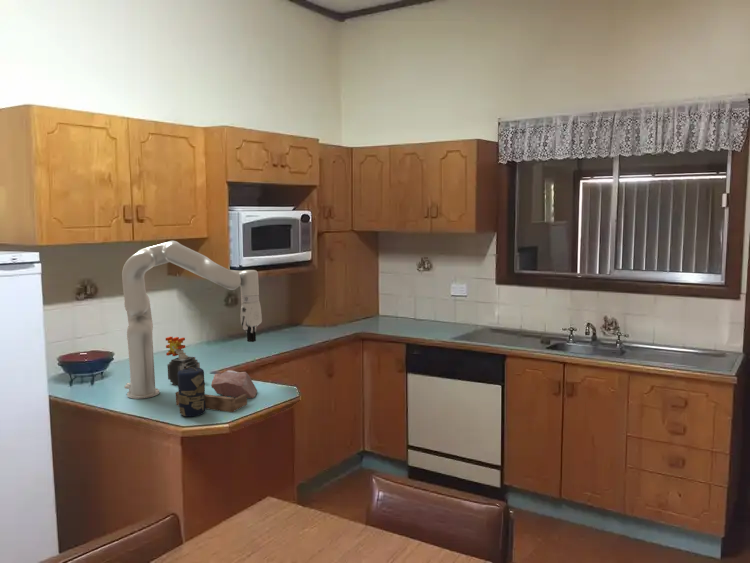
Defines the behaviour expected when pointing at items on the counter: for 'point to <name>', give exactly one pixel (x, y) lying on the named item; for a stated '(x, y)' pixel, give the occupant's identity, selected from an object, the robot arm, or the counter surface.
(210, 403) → the stop cradle
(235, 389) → the stone
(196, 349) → the counter surface
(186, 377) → the canister
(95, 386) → the counter surface
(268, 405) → the counter surface
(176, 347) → the bomb
